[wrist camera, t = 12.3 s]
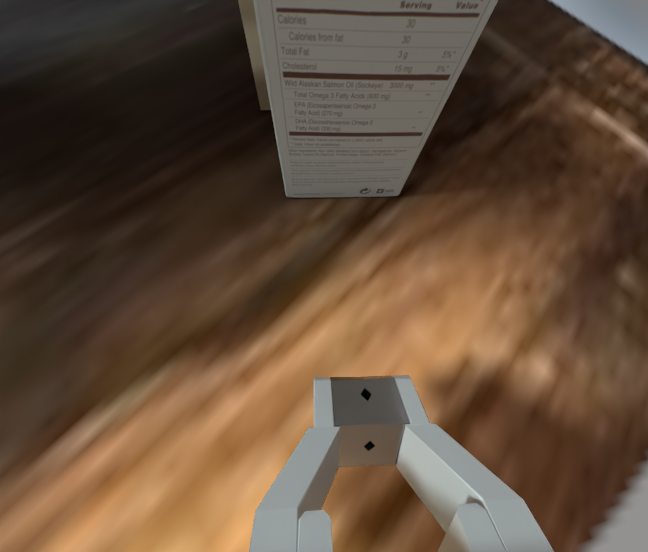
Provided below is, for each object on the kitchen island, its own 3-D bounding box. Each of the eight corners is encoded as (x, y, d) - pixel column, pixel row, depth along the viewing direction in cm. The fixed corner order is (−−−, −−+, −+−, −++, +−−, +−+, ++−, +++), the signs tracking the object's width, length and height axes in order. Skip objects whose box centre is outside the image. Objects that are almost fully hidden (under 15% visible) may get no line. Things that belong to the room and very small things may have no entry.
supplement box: (284, 111, 19) (234, -329, 7) (387, 112, 19) (511, -305, 7) (282, 201, 17) (202, -228, 5) (400, 200, 17) (613, -200, 5)
